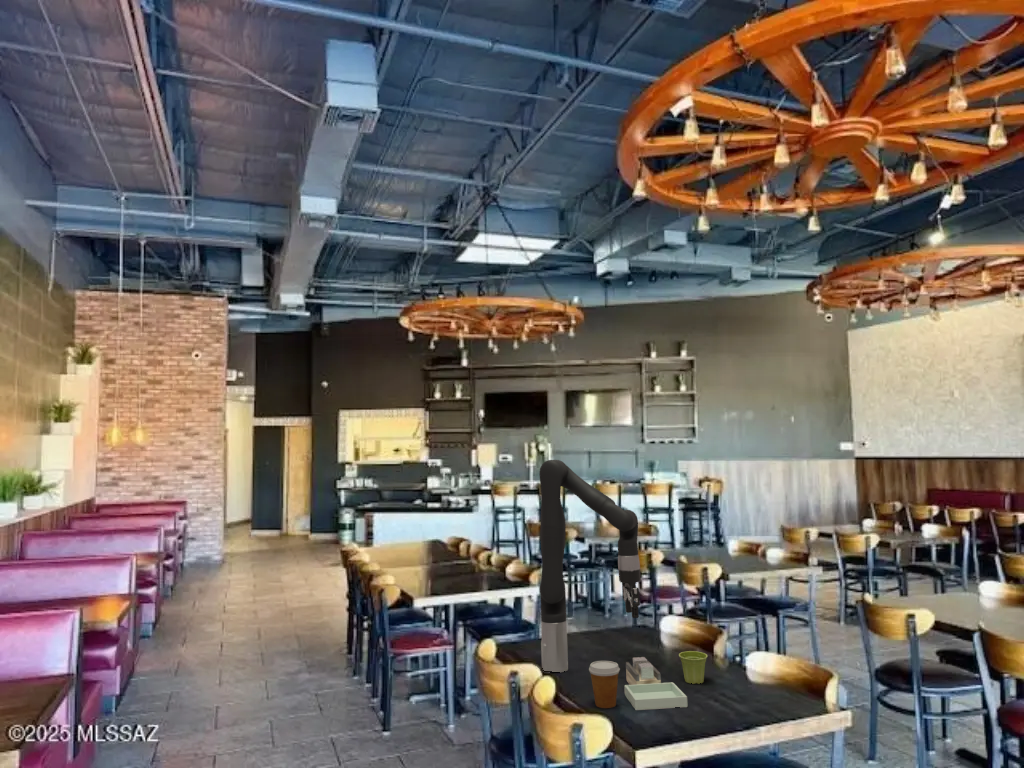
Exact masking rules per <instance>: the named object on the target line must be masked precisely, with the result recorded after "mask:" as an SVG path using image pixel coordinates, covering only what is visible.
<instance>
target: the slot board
mask: <svg viewBox="0 0 1024 768" xmlns="http://www.w3.org/2000/svg"><path fill="white" fill-rule="evenodd" d="M647 661H648V663H650V664H651V665H652V666H653V672H654V679H650V680H641V678H640V677H639V674H638V673H637V672H636V670H635V669H634V668H633V665H631V663H630V662H629V661H626V662H625V671H626V672H625V673H626V675H625V676H626V682H627V683H628V685H637V684H653V683H662V675H661V672H660V671H659V670H658V669H657V668H656V667H655V666H654V665H653V664H652V663H651V662H650V661H649V660H647Z"/></svg>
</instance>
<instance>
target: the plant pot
mask: <svg viewBox="0 0 1024 768" xmlns="http://www.w3.org/2000/svg"><path fill="white" fill-rule="evenodd" d="M678 657H679V659H680V661H681V665H682V672H683V675H684V676H683V677H684V682H686V683H688V684H691V683H692V684H691V685H694V684H698V685H700V683H701V684H703V683H704V682H705V681H704V680H705V667H706V662H707V658H708V654H707V653H705V652H701V651H696V650H689V651H682V652H680V653H678Z"/></svg>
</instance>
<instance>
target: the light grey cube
mask: <svg viewBox="0 0 1024 768" xmlns="http://www.w3.org/2000/svg"><path fill="white" fill-rule="evenodd" d="M648 661H649V660H648V659H647V658H646V657H645V656H641V657H639V656H638V657H632V667H633V668H634V669H635V670H636V672H637V673H638V664H640V663H648Z"/></svg>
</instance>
